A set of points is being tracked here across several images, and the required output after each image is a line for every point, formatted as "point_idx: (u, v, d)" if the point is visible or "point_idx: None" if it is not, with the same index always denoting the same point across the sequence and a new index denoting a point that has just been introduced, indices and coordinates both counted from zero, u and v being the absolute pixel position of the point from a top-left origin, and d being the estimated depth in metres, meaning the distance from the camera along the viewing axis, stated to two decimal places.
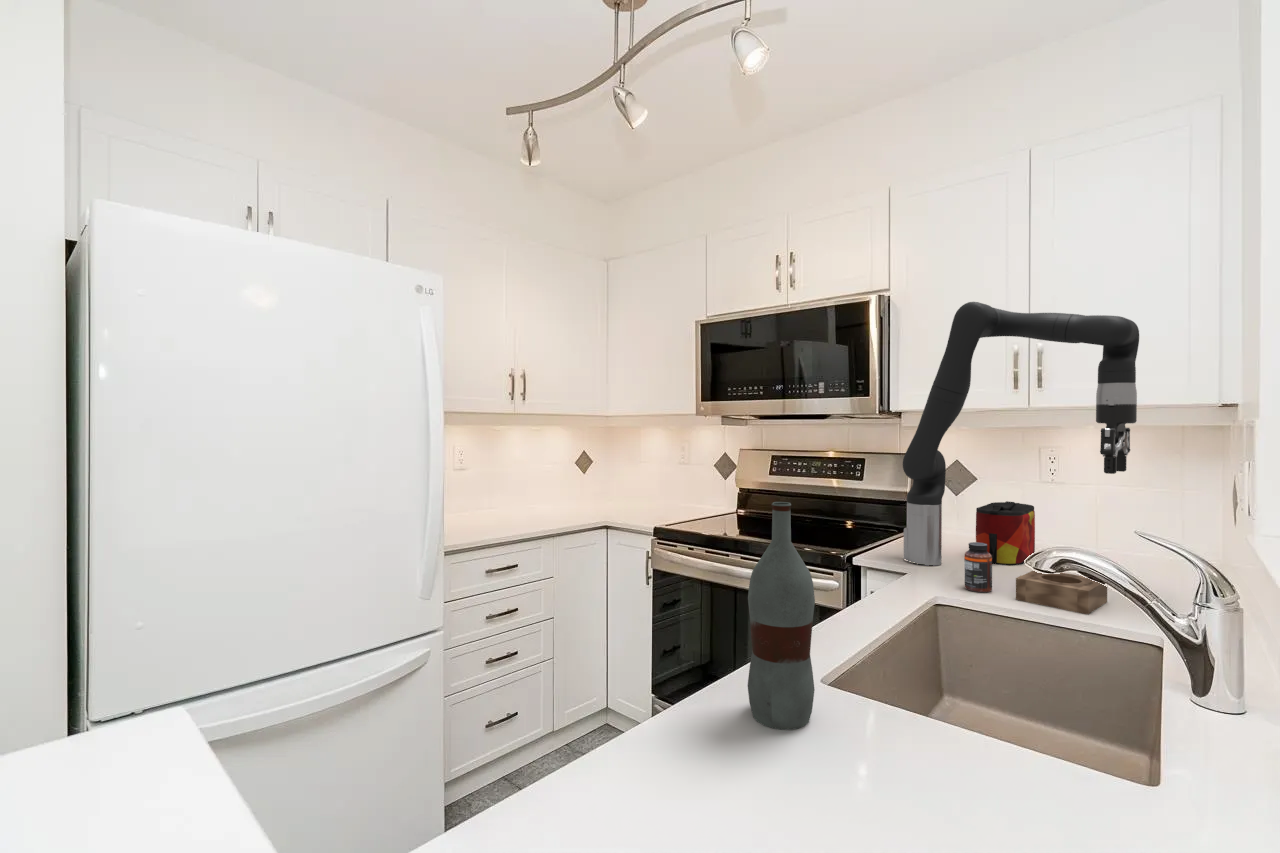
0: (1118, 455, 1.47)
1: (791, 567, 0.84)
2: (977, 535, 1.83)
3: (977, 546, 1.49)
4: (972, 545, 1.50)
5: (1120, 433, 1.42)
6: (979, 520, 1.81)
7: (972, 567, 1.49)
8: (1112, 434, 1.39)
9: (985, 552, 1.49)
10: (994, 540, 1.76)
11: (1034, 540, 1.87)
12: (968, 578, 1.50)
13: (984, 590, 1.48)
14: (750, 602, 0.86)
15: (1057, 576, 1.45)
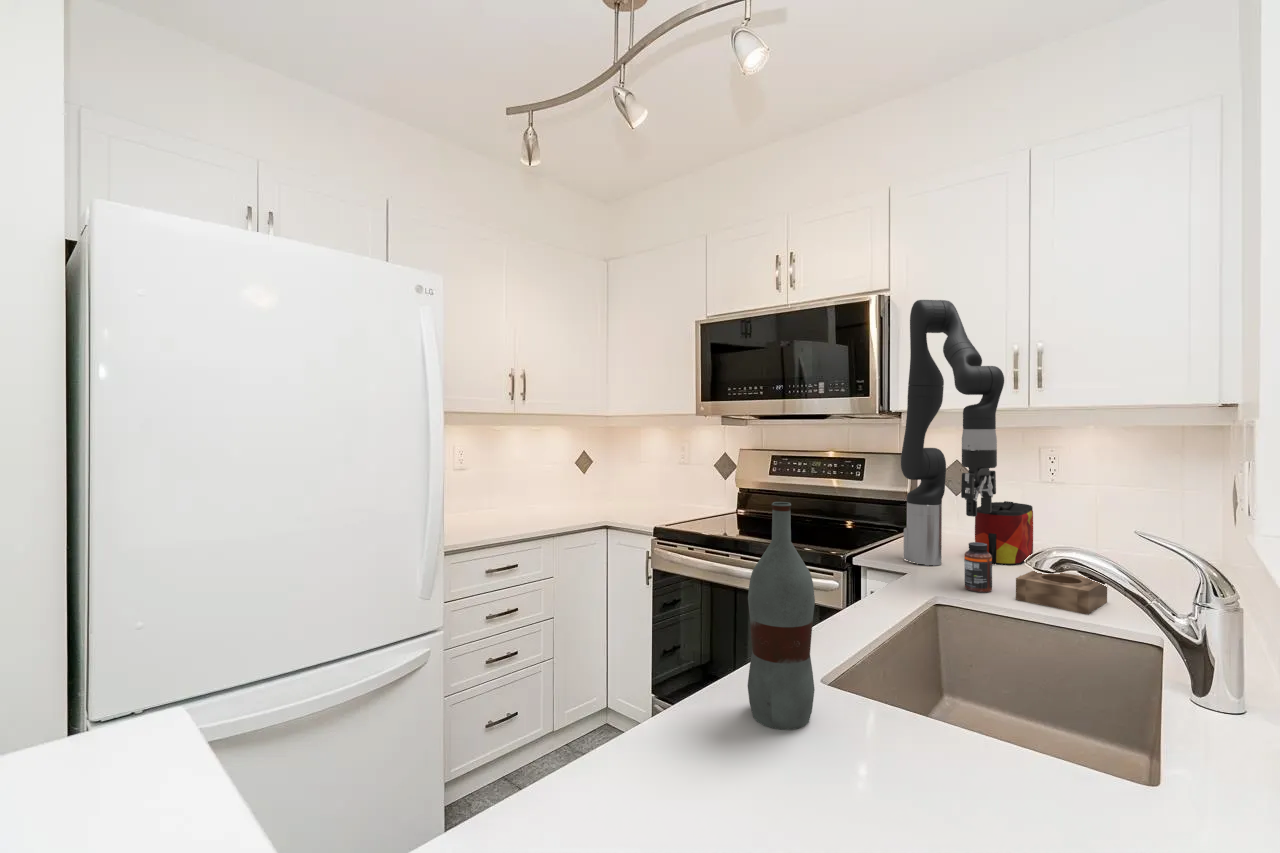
0: (984, 497, 1.53)
1: (791, 567, 0.84)
2: (976, 535, 1.82)
3: (977, 546, 1.49)
4: (972, 545, 1.50)
5: (981, 477, 1.48)
6: (978, 520, 1.81)
7: (972, 567, 1.49)
8: (971, 479, 1.45)
9: (985, 552, 1.49)
10: (994, 540, 1.76)
11: (1032, 540, 1.87)
12: (968, 578, 1.50)
13: (984, 590, 1.48)
14: (750, 602, 0.86)
15: (1057, 576, 1.45)
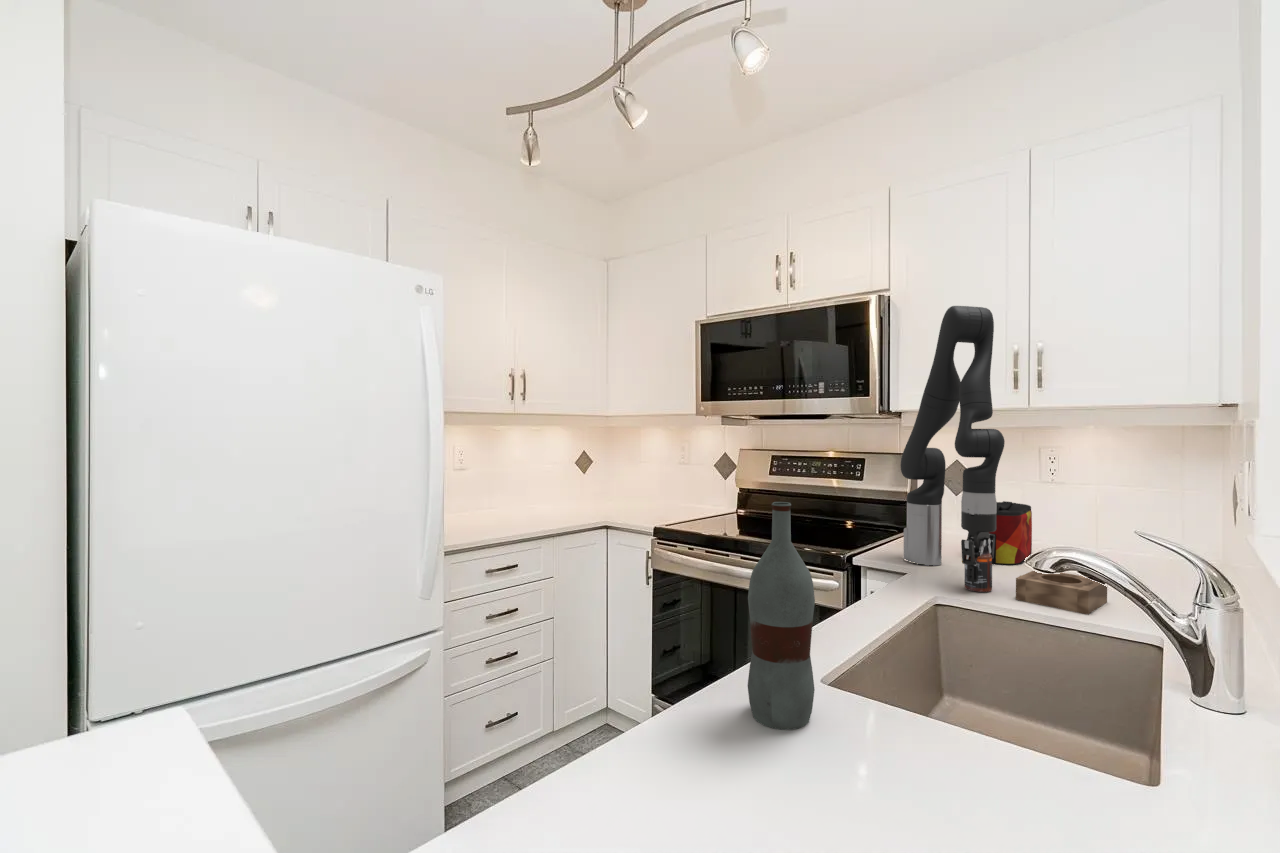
0: None
1: (791, 567, 0.84)
2: None
3: None
4: None
5: (980, 541, 1.48)
6: None
7: None
8: (970, 547, 1.46)
9: (985, 552, 1.49)
10: None
11: (1031, 540, 1.87)
12: None
13: (984, 590, 1.48)
14: (750, 602, 0.86)
15: (1057, 576, 1.45)
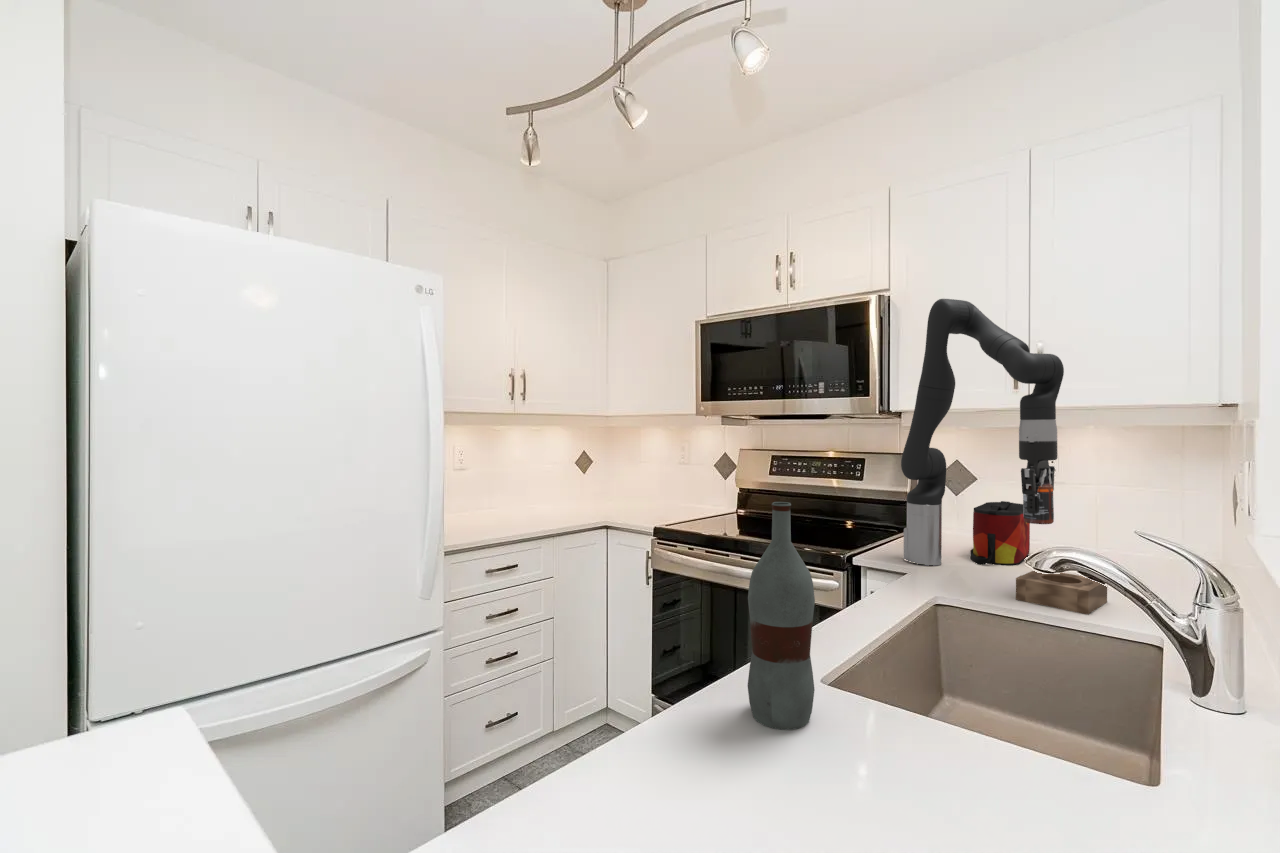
0: None
1: (791, 567, 0.84)
2: (975, 536, 1.82)
3: None
4: None
5: (1041, 471, 1.41)
6: (977, 520, 1.81)
7: None
8: (1031, 475, 1.39)
9: (1046, 482, 1.42)
10: (993, 540, 1.76)
11: (1029, 539, 1.88)
12: None
13: (1046, 522, 1.41)
14: (750, 602, 0.86)
15: (1057, 576, 1.45)
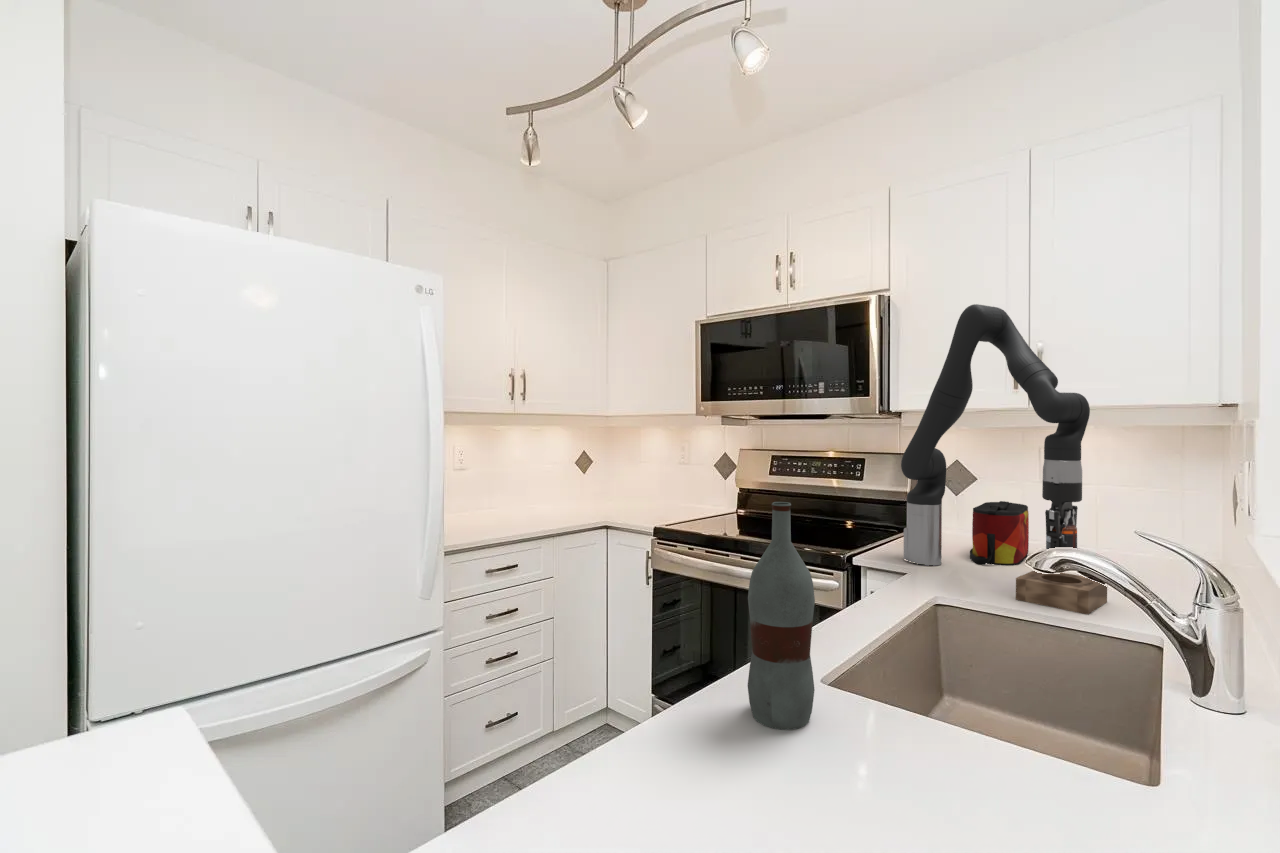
0: None
1: (791, 567, 0.84)
2: (974, 536, 1.82)
3: None
4: None
5: (1065, 512, 1.39)
6: (976, 520, 1.81)
7: None
8: (1056, 517, 1.37)
9: (1070, 523, 1.40)
10: (992, 540, 1.76)
11: (1028, 539, 1.88)
12: None
13: None
14: (750, 602, 0.86)
15: (1057, 576, 1.45)
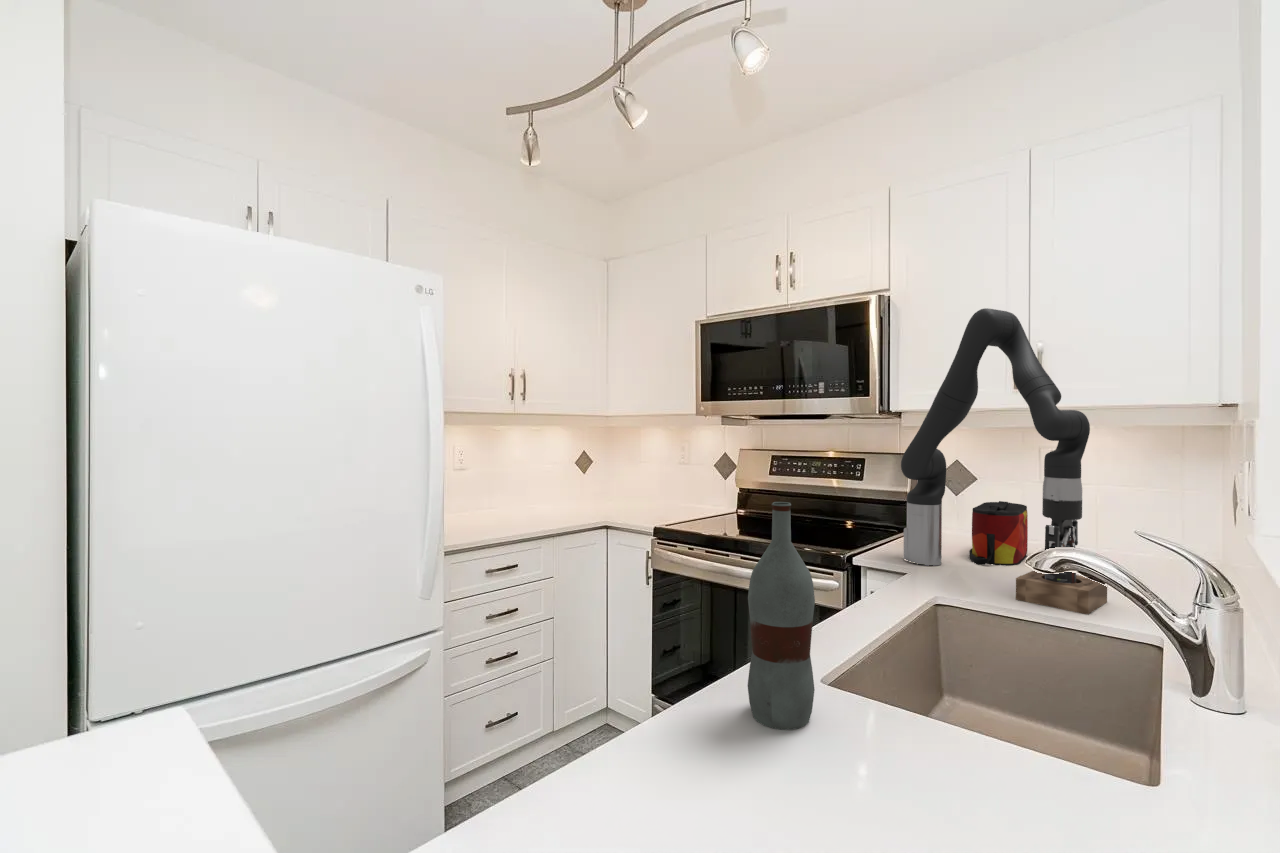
0: None
1: (791, 567, 0.84)
2: (974, 536, 1.82)
3: None
4: None
5: (1065, 529, 1.39)
6: (976, 520, 1.81)
7: None
8: (1056, 532, 1.36)
9: None
10: (992, 540, 1.76)
11: (1027, 539, 1.88)
12: None
13: None
14: (750, 602, 0.86)
15: None
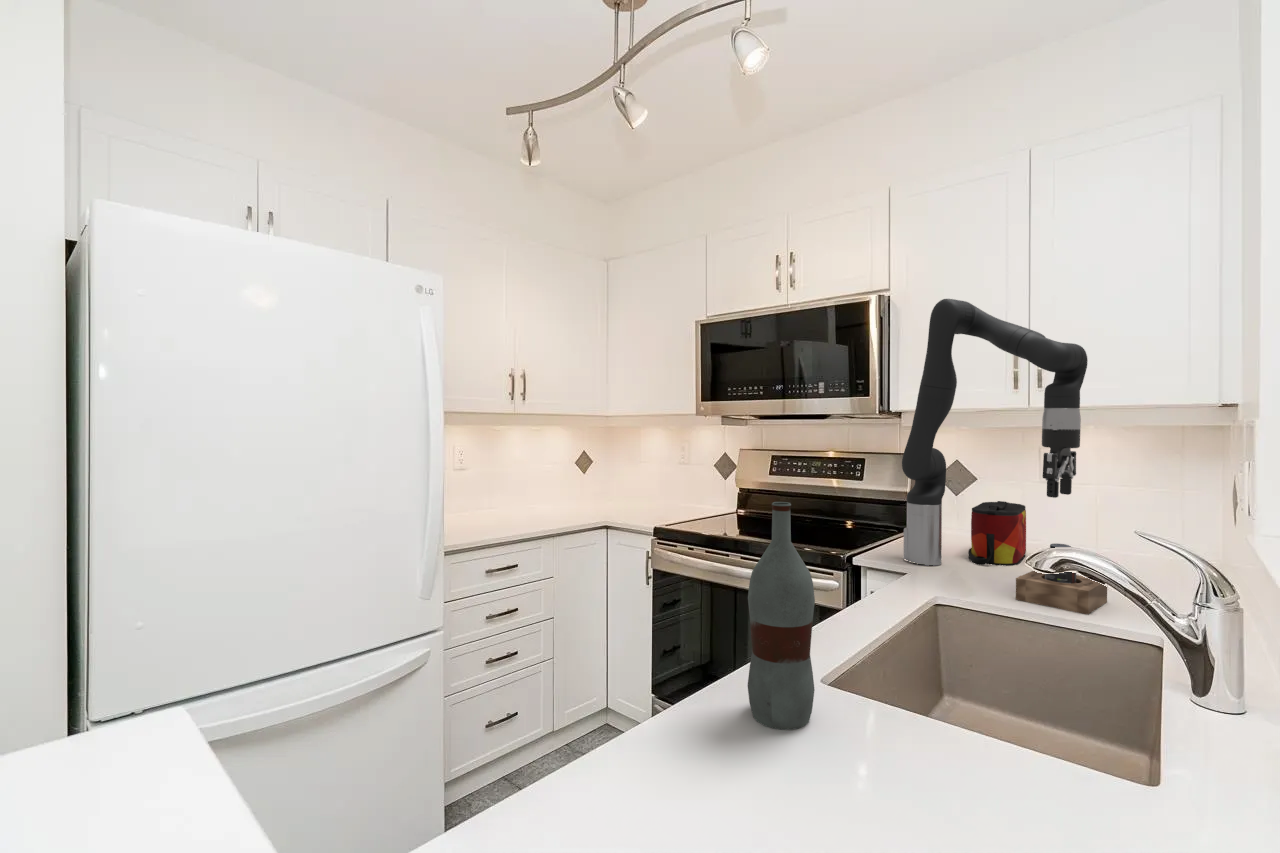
0: (1064, 478, 1.49)
1: (791, 567, 0.84)
2: (973, 536, 1.82)
3: None
4: None
5: (1063, 457, 1.44)
6: (975, 520, 1.81)
7: None
8: (1054, 459, 1.41)
9: None
10: (992, 540, 1.76)
11: (1025, 539, 1.88)
12: None
13: None
14: (750, 602, 0.86)
15: None
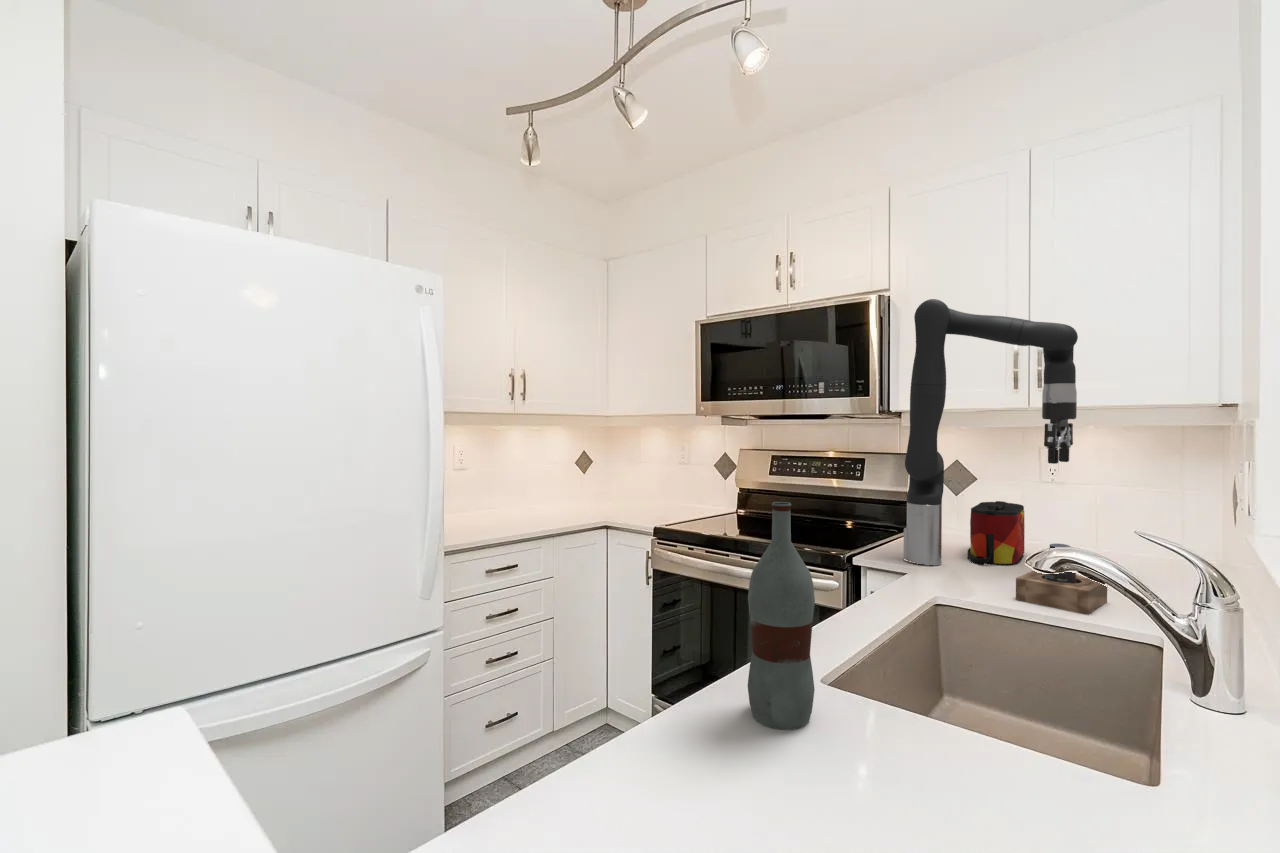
0: (1062, 447, 1.66)
1: (791, 567, 0.84)
2: (973, 536, 1.82)
3: None
4: (1054, 547, 1.41)
5: (1062, 428, 1.61)
6: (975, 520, 1.81)
7: None
8: (1054, 428, 1.58)
9: None
10: (991, 540, 1.76)
11: None
12: None
13: None
14: (750, 602, 0.86)
15: None
